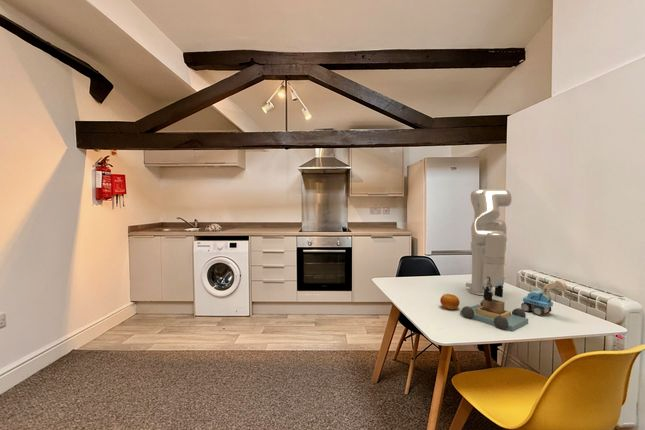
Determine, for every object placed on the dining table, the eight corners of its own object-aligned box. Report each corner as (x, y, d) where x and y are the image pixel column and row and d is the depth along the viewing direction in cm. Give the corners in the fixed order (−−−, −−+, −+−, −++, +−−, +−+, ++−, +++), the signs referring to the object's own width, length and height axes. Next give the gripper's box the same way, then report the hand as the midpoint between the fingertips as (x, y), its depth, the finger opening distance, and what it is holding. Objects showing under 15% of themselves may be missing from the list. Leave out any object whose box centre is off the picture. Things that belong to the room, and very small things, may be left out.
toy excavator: (558, 322, 131) (559, 282, 131) (518, 310, 146) (519, 274, 146) (568, 318, 135) (569, 280, 135) (528, 307, 150) (529, 273, 150)
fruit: (463, 300, 149) (454, 287, 148) (462, 311, 142) (452, 297, 141) (447, 304, 154) (438, 292, 153) (445, 315, 147) (436, 302, 146)
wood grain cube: (482, 313, 135) (482, 299, 135) (487, 311, 138) (488, 298, 138) (498, 318, 130) (499, 304, 129) (504, 315, 133) (504, 302, 132)
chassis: (458, 315, 138) (458, 304, 138) (478, 308, 148) (478, 298, 148) (510, 332, 120) (511, 319, 120) (529, 322, 130) (529, 311, 130)
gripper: (495, 256, 141) (494, 292, 142) (475, 261, 131) (474, 299, 132) (512, 259, 135) (511, 297, 136) (493, 264, 125) (492, 304, 126)
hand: (493, 298), depth 134 cm, fingers open, 9 cm apart
